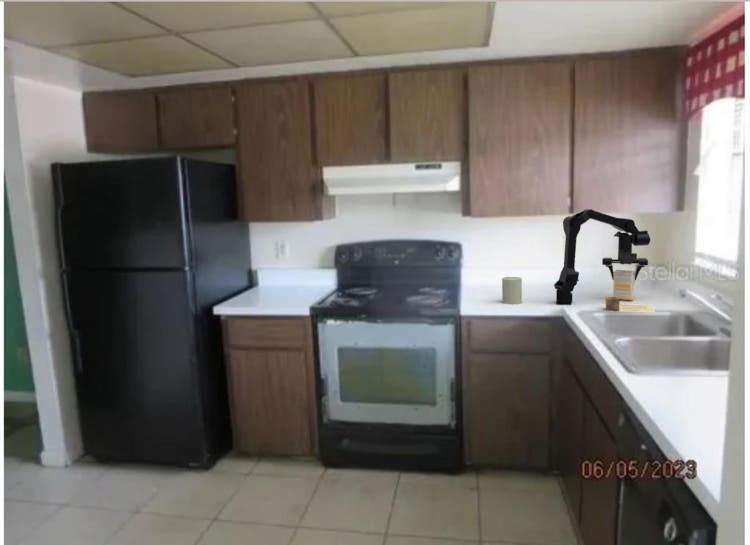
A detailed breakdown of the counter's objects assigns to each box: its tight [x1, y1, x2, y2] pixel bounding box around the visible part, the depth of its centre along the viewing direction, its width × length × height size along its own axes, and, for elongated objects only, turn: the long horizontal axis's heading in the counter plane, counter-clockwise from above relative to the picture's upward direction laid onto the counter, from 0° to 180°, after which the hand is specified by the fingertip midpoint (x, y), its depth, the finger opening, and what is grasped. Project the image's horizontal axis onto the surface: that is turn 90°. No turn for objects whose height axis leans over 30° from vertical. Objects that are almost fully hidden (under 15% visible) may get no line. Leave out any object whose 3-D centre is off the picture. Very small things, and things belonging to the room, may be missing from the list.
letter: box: [617, 303, 656, 314], centre depth 228 cm, size 14×16×1 cm
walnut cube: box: [605, 296, 620, 312], centre depth 227 cm, size 5×5×5 cm
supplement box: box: [612, 269, 636, 301], centre depth 244 cm, size 8×5×13 cm, turn 47°
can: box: [501, 276, 523, 305], centre depth 250 cm, size 9×9×12 cm
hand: (624, 280), depth 244 cm, fingers closed on supplement box, 9 cm apart
